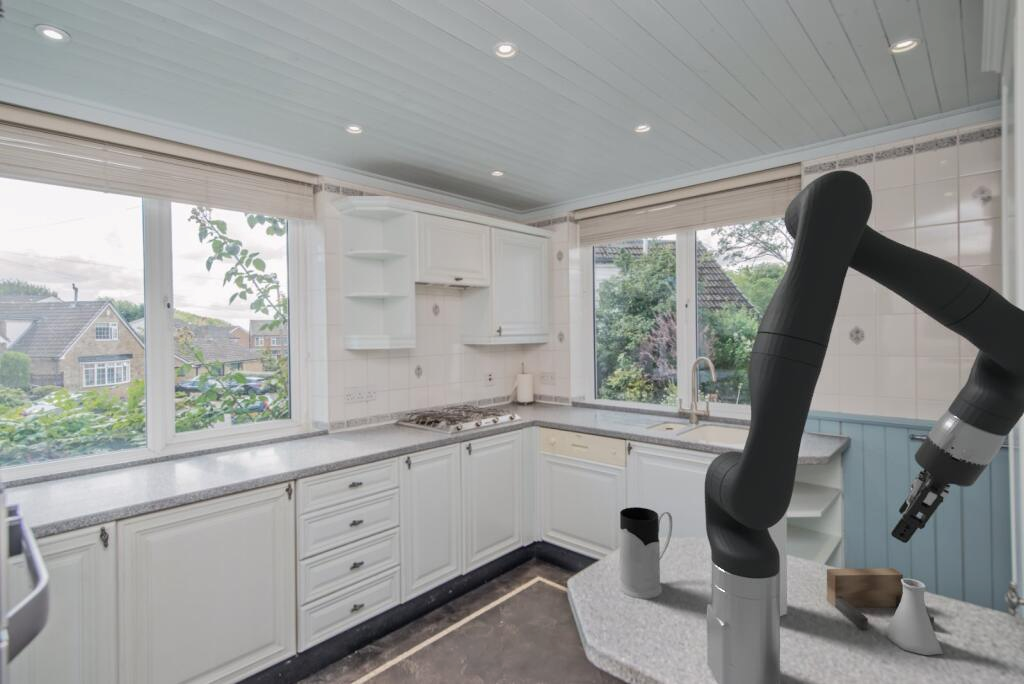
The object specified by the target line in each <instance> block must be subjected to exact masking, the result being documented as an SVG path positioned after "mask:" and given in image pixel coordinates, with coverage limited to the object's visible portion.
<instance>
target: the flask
mask: <svg viewBox="0 0 1024 684" xmlns="http://www.w3.org/2000/svg"><path fill="white" fill-rule="evenodd" d="M901 582H902V585H903V594H902V598H901V602H900V604H899V606H898V608H897V607H896V610H895V612H894V615H893V616H892V618H891V619H890V621H889V624H888V625H887V627H886V629H885V632H886V635H887V639H888V640H889V641H891V642H892V643H894V644H895V645H896V646H898V647H899V648H901V649H902V651H903V650H904V651H907V652H911V653H916V654H919V655H923V656H933V655H942V654H943V653H944V652H943V650H942V648H941V647H942V646H941V645H940V642H939V640H938V637H937V635H936V632H935V629H933V627H932V625H931V622H930V619H929V616H928V614H929V613H928V612H927V608H926V603H925V591H926V590H927V586H926V584H925V583H924V582H922V581H921V580H917V579H913V578H908V577H907V578H903V579H901ZM927 613H928V614H927Z"/></svg>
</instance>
